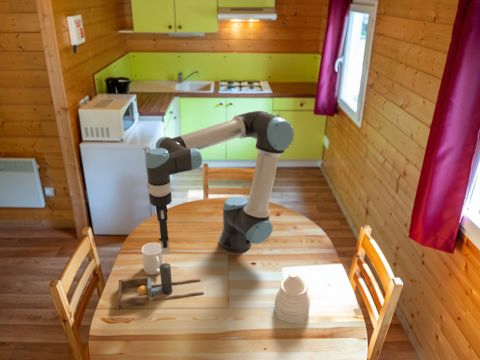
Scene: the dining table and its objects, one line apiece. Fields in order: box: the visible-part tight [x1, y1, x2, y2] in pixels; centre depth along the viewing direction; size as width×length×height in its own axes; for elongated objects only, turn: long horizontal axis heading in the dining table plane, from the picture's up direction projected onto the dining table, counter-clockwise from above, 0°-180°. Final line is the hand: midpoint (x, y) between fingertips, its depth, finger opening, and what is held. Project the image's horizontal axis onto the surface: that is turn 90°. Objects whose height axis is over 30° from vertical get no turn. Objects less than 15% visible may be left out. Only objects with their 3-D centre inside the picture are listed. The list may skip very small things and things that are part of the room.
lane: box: [149, 278, 204, 303], centre depth 157 cm, size 21×9×1 cm, turn 103°
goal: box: [117, 276, 150, 310], centre depth 153 cm, size 11×12×4 cm
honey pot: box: [273, 271, 311, 324], centre depth 145 cm, size 13×13×18 cm
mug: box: [141, 242, 165, 276], centre depth 166 cm, size 9×12×11 cm
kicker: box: [147, 262, 173, 298], centre depth 153 cm, size 9×6×12 cm, turn 103°
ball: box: [137, 286, 148, 296], centre depth 154 cm, size 4×4×4 cm
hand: (164, 243), depth 147 cm, fingers open, 13 cm apart
